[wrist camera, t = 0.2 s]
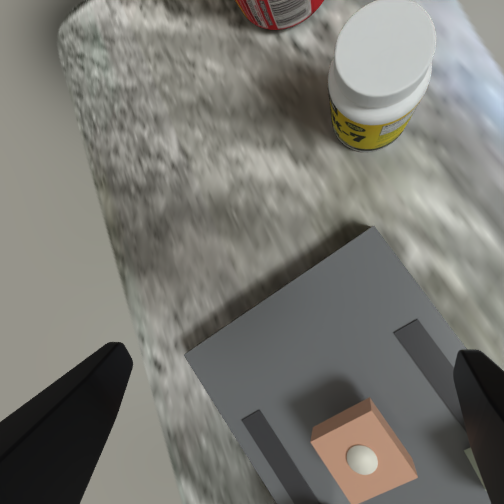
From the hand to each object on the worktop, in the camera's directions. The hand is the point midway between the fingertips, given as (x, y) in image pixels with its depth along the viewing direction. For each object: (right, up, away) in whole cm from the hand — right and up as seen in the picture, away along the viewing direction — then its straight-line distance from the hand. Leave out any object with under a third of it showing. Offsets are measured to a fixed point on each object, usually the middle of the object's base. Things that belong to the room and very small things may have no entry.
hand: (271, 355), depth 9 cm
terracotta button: (+6, -8, +10) cm, 15 cm away
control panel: (+7, -8, +14) cm, 17 cm away
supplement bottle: (+7, +12, +13) cm, 19 cm away
